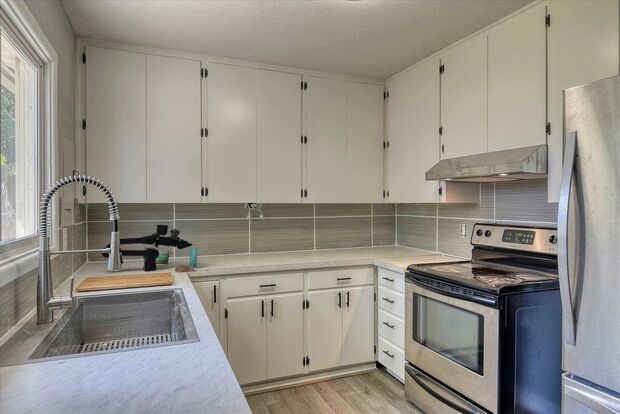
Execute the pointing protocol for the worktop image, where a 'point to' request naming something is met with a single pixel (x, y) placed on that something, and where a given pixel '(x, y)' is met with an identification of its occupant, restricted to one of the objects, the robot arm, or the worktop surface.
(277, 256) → the worktop surface
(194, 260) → the peg
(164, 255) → the food container
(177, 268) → the socket plate
